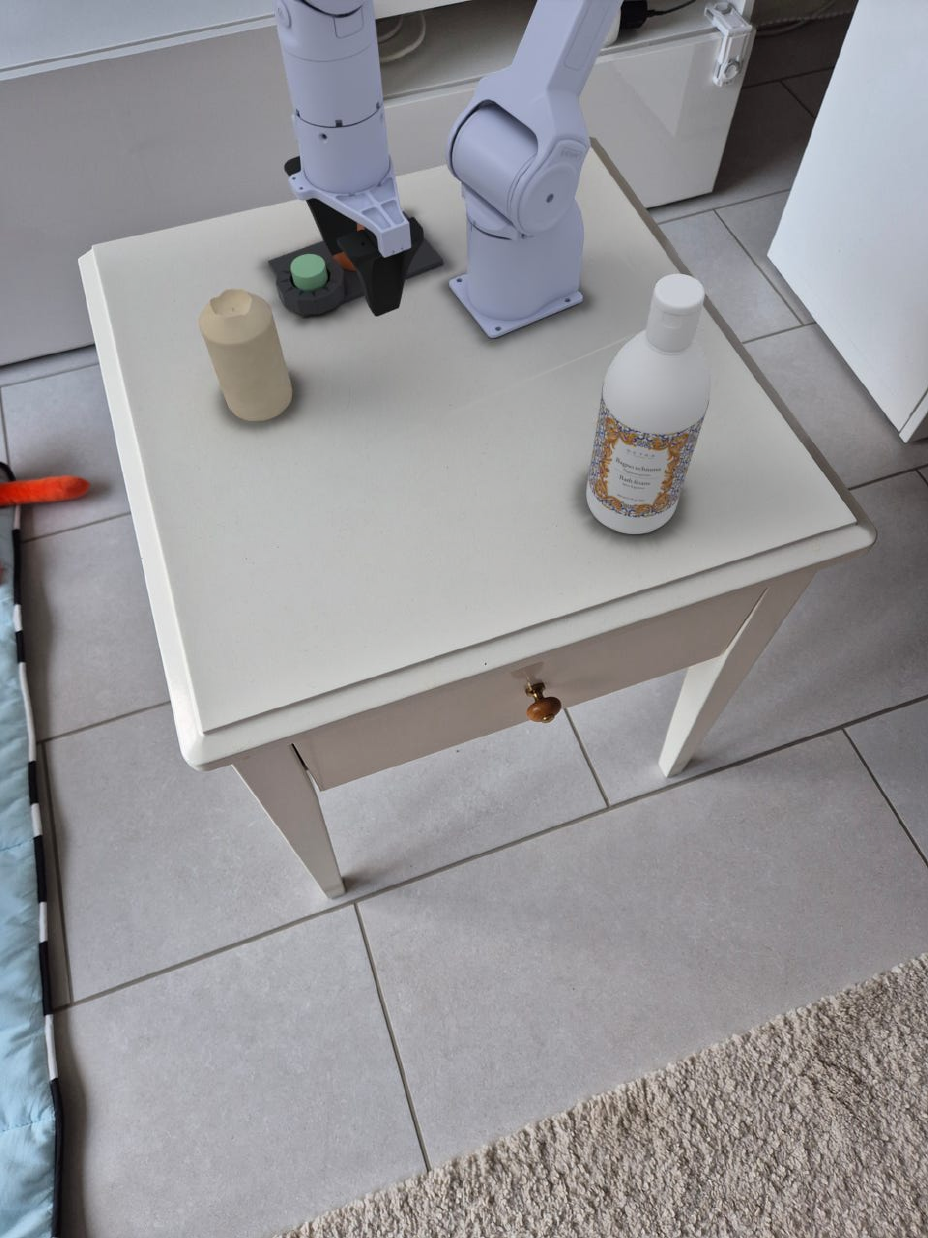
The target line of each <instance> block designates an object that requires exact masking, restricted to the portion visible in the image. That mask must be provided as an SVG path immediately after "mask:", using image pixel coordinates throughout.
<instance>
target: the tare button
mask: <svg viewBox="0 0 928 1238" xmlns="http://www.w3.org/2000/svg"><path fill="white" fill-rule="evenodd" d="M291 273H292V277H293V281H294V284H295V286H296V287H297V288H298V289H300V290H302V291H314V290H316V289H319V288H322V287H323V286H324V285H325V284H326V283H327V280H328V277H327V271H326V266H325V262H324V260H323V259H322V258H321V257H320V256H318V255H314V254H305V255H301V256H299V257H297V258H295V259H294V260H293V262H292V263H291Z"/></svg>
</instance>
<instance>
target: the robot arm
mask: <svg viewBox="0 0 928 1238" xmlns="http://www.w3.org/2000/svg"><path fill="white" fill-rule="evenodd" d="M271 2H272V7H273V12H274V18H275V23H276V30H277V36H278V40H279V46H280V51H281V56H282V61H283V67H284V72H285V77H286V81H287V88H288V93H289V97H290V104H291V108H292V113H293V114H291V115H290V117H291V123H292V128H293V133H294V139H295V142H296V143H297V144H298V150H299V155H298V156H295V157H291V158H289V159H288V160H287V161H286V162H285V163H284V165H283V170H284V172H285V173H286V175H287V177H288V179H287V180H288V184H289V188H290V190H291V192H292V194H294V196H295V198H296V199H297V200H299V201H303V202H304V201H305V202H306V204H307V206H308V208H309V210H310V212H311V215H312V217H313V220H314V222H315V224H316V227H317V229H318V232H319V234H320V237H321V238H322V241H324V243H325V245H326V247H327V249H328V251H329V252H330V253H331V255H332V256H334V255H336V254H339V253H342V252H344V253H345V255H346V256H347V258H348V259H349V260H350V261H351V262H352V264H353V266H354V267H355V269H356V272H357V274H358V276H359V279H360V282H361V285H362V289H363V292H364V298H365V301H366V304H367V305H368V308H369V309H370V311H371V313H372V315H373V316H374V317H377V318H378V317H380V316H383V315H385V314H388V313H390V312H392V311H395V310H398V309H399V308H400V307H401V303H402V298H403V293H404V288H405V284H406V280H407V279H406V275H407V271H408V268H409V266H410V263H411V261H412V259H413V257H414V255H415V254H416V252H417V250H418V249H419V247H420V246H421V245H422V243H423V242H424V237H425V234H424V228H423V227H422V225H421V224H420V223H419V222H418V220H417V219H416V218H415V216H411V217H409V218H408V219H406V218H405V216H404V214H403V212H402V211H403V209H402V206H401V201H400V195H399V190H398V185H397V179H396V174H395V167H394V161H393V158H392V156H391V154H390V153H389V144H388V143H389V142H388V131H387V121H386V115H385V103H384V94H383V86H382V85H383V84H382V75H381V65H380V55H379V45H378V44H379V43H378V35H377V25H376V15H375V4H374V0H271ZM623 2H624V0H537V1H536V4H535V6H534V8H533V11H532V14H531V15H530V19H529V21H528V24H527V25H526V28H525V31H524V33H523V36H522V38H521V40H520V43H519V45H518V48H517V51H516V52H515V55H514V57H513V60H512V63H511V64H510V65H508V66H506V67H504V68H502V69H499V70H497V71H495V72H492V73H490V74H488V75H485V76H483V77H482V78H480V80H479V81H478V84H477V86H476V89H475V91H474V93H473V96H472V98H471V99H470V101H469V103H468V104H467V106H466V107H465V108H464V109H463V110H462V112H461V113H460V114H459V116H458V117H457V118H456V120H455V122H454V123H453V125H452V127H451V129H450V131H449V134H448V136H447V140H446V144H445V150H444V151H445V154H444V156H445V158H444V159H445V163H446V167H447V170H448V171H449V173H450V174H451V175H452V176H453V178H454V179H457V180H458V181H459V182H460V186H461V187H460V188H461V190H460V191H461V197H462V198H463V200H464V202H465V232H466V233H465V234H466V238H465V239H466V240H465V241H466V273H464V274H462V275H459V276H456V277H454V278H451V279H450V280H449V282H448V286H449V288H450V289H451V291H452V292H453V294H454V295H455V296H456V297H457V298H458V300H459V301H460V303H462V305H463V306H464V307H465V308H466V310H467V311H468V312H469V313H470V315H471V317H473V319H474V320H475V321H476V323H477V324H478V325H479V327H480V328H481V329H482V330H483V331H484V333H485V334H486V336H487V337H489V338H491V339H495V338H498V337H501V336H503V335H506V334H507V333H510V332H513V331H516V330H517V329H520V328H522V327H525V326H527V325H530V324H532V323H534V322H535V323H536V322H537V321H539V320H542V319H544V318H547V317H549V316H551V315H554V314H556V313H559V312H561V311H564V310H566V309H568V308H571V307H573V306H576V305H578V304H580V303H582V302H583V299H584V295H583V294H582V293H581V292H580V291H579V287H580V277H581V269H582V260H583V250H584V242H585V227H584V219H583V216H582V211H581V208H580V206H579V204H578V201H577V200H576V195H577V191H578V187H579V182H580V176H581V171H582V168H583V164H584V162H585V159H586V157H587V155H588V152H589V151H590V149H591V146H592V145H591V138H590V134H589V131H588V128H587V125H586V121H585V118H584V114H583V111H582V108H581V103H580V97H581V94H582V93H583V90H584V88H585V86H586V83H587V81H588V80H589V77H590V75H591V73H592V70H593V68H594V67H595V64H596V62H597V59H598V57H599V55H600V53H601V51H602V48H603V46H604V44H605V42H606V40H607V37H608V36H609V33H610V31H611V30H612V29H611V28H612V27H613V24H614V22H615V20H616V17H617V16H618V13H619V11H620V9H621V7H622V5H623ZM357 223H359V224H361V225H362V226H364V230H363V229H361V230H359V231H357Z"/></svg>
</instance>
